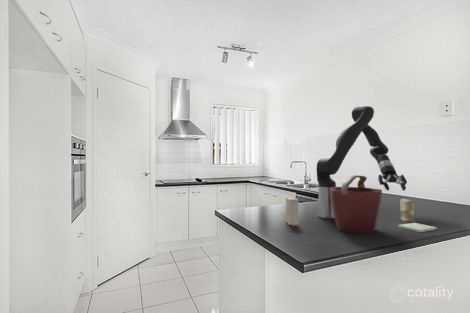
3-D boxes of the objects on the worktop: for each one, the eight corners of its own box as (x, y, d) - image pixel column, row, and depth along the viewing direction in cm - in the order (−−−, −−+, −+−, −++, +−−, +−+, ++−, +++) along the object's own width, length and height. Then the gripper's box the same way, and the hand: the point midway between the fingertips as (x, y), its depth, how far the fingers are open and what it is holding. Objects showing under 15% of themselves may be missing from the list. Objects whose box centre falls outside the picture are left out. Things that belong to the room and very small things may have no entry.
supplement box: (298, 226, 127) (298, 199, 127) (289, 226, 127) (288, 199, 127) (295, 222, 135) (295, 197, 135) (286, 222, 135) (285, 197, 135)
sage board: (419, 232, 115) (419, 230, 115) (398, 227, 124) (398, 225, 124) (436, 229, 119) (436, 227, 119) (414, 224, 129) (414, 222, 129)
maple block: (404, 221, 135) (404, 200, 135) (400, 219, 140) (400, 199, 140) (414, 221, 134) (413, 200, 135) (409, 219, 139) (409, 199, 139)
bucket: (353, 221, 136) (352, 173, 137) (396, 231, 117) (395, 176, 117) (320, 227, 124) (319, 175, 125) (362, 239, 105) (361, 177, 105)
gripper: (376, 164, 158) (385, 185, 147) (401, 164, 157) (412, 185, 145) (373, 173, 164) (381, 193, 152) (397, 173, 162) (407, 193, 150)
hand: (396, 189), depth 149 cm, fingers open, 8 cm apart
